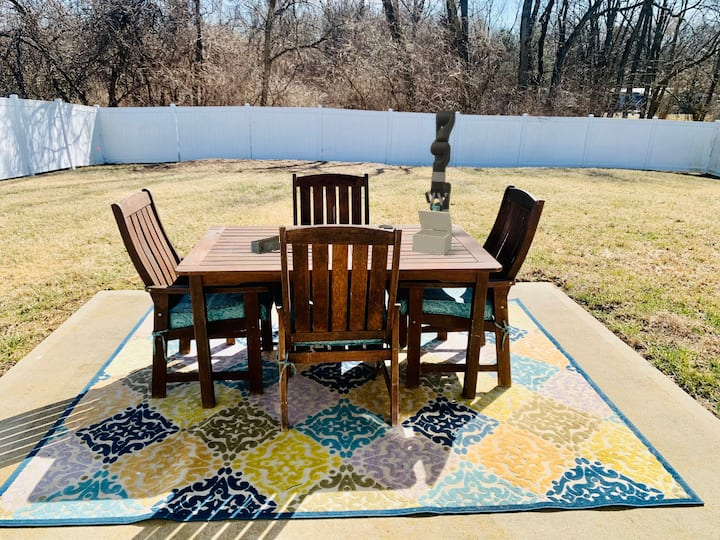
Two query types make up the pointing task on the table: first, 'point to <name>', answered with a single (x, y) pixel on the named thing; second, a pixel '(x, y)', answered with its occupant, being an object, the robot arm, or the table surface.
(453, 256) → the table surface
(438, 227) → the lid
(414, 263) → the table surface
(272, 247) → the beverage carton
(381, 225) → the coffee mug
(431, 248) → the box
